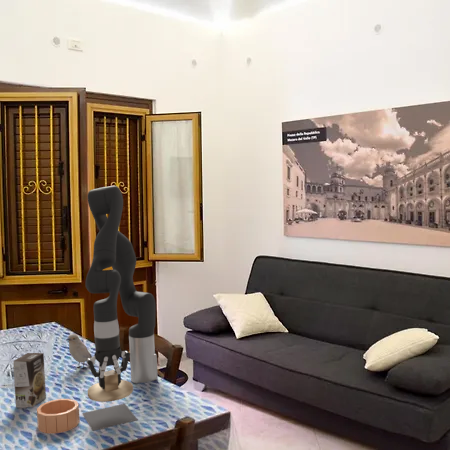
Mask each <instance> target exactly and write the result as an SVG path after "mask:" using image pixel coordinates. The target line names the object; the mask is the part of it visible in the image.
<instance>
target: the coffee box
mask: <svg viewBox="0 0 450 450" xmlns="http://www.w3.org/2000/svg"><path fill="white" fill-rule="evenodd" d="M12 362H13V363H12V364H13V377H14V378H13V379H14V398H15V400H14V401H15V408H19V409H20V408H22V409H28V408H33V407H35V406H36V405H39V404H40V403H41V402H42V401H44V400H46V398H47V392H46V391H47V389H46V377H45V376H46V374H45V373H46V372H45V371H46V370H45V355H44V353H43V352H26V353H25V354H23V355H22V356H20V357H18V358H16V359H15V360H13V361H12Z"/></svg>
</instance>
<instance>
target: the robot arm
mask: <svg viewBox="0 0 450 450" xmlns="http://www.w3.org/2000/svg"><path fill="white" fill-rule="evenodd" d="M86 199H87V203H88V206H89V210H90V212H91V215H92V216H93V220H94V222H95V224H96V226H97V229H98V233H97V234H96V237H95V240H94V243H93V255H92V256H93V257H92V261H91V265H90V267H89V269H88V271H87V274H86V278H85V283H84V284H85V288H86V289H87V291H88V292H89V293H90V294H108V293H109V295H108V296H107V297H106V298H105V297H104V299H99V300H97V301H95V302H94V303H93V320H94V321H93V322H94V323H93V332H94V334H93V335H94V345H95V346H94V347H95V351H94V355H93V356H92V358H90V359H89V358H87V359H86V361H85V362H86V364H87V366H88V367H89V370H90V372H91V375H92V376H93V377H94V378H98V383H99V386H100V387H101V388H102V389H105V381H104V372H106V371H107V367H109V366H112V367H113V370H115V372H116V373H117V374H118V386H119V384H120V383H121V380H122V376H121V375H122V372H126V371H127V368H128V364H129V362H130V382H131V383H132V384H142V383H143V384H145V383H149V382H154V381H157V380H158V358H157V357H158V356H157V354H156V351H155V350H156V349H155V327H156V312H157V311H156V309H157V307H156V299H155V296H154V295H153V294H152V293H150V292H145V291H137V289H136V286H135V282H134V279H133V278H134V277H133V276H134V273H135V270H136V266H137V257H136V253H135V250H134V246H133V243H132V242H131V240H130V239H129V238H128V237H126V236H125V234H123V233H122V232H121V231H119V228H120V225H121V219H122V214H123V207H124V197H123V193H122V191H121V189H120V187H119V186H118V185H110V186H103V187H99V188H94V189H91V190H89V191H88V193H87V198H86ZM107 215H108V216H107ZM111 267H112V269H109V268H111ZM119 296H120V301H121V305H122V309H123V310H124V312H125V314H127V316H130V317H136V318H138V320H137V323H136V324H134V325H132V326H130V327H129V328H128V341H129V343H128V344H129V345H128V346H129V351H128V349H127V350H122V349H121V342H120V326H119V321H118V319H119V318H118V297H119ZM120 357H121V358H122V360H121V362H120V365H119V359H120ZM96 361H97V362H98V371H97V370H96V367H95V363H96Z"/></svg>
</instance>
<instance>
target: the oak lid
mask: <svg viewBox="0 0 450 450" xmlns="http://www.w3.org/2000/svg"><path fill="white" fill-rule="evenodd" d="M104 381H105V389H102V388H101V387H100V386H99V382H97V383H95V384H92V385H91V386H90V387H89V388H88V390H87V398H88V399H90V400H92V401H94V402H99V403H100V402H103V403H104V402H106V403H108V402H116V401H119V400H122V399H125V398H127V397H129V396H131V395H132V394H133V392H134V385H133V384H134V383H133V382H132V381H128V380H124V379H121V383H120V384H119V386H118V374H117V373H116V372H115V369H111V370H105V372H104Z"/></svg>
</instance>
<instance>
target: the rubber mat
mask: <svg viewBox="0 0 450 450" xmlns="http://www.w3.org/2000/svg"><path fill="white" fill-rule="evenodd" d="M81 413H82V415H83V417H84V419H85V421H86V422H87V424H88V425H89V427H90V429H91V430H92V432H94V431H98V430H102V429H106V428H111V427H114V426H120V425H122V424H127V423H131V422H132V423H133V422H136V421H138V418H137V417H136V415H134V413H133V412H132V411H131V409H130V408H129V407H128V406H127V405H126V403H122V404H116V405H113V406H108V407H103V408H99V409H95V410H91V411H90V410H89V411H86V412H81Z"/></svg>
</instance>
